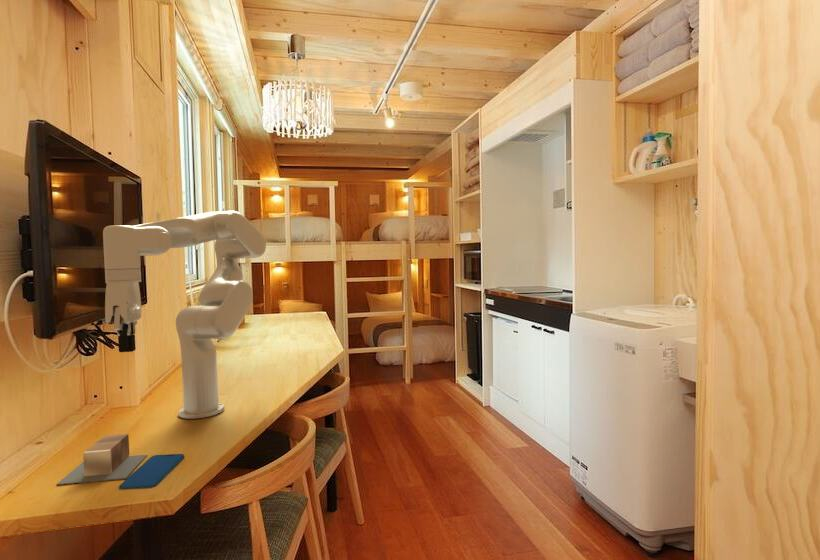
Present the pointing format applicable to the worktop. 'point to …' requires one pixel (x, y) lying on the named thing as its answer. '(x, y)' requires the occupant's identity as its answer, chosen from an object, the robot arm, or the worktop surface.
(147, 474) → the smartphone
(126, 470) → the mat
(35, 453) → the worktop surface
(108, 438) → the walnut block
